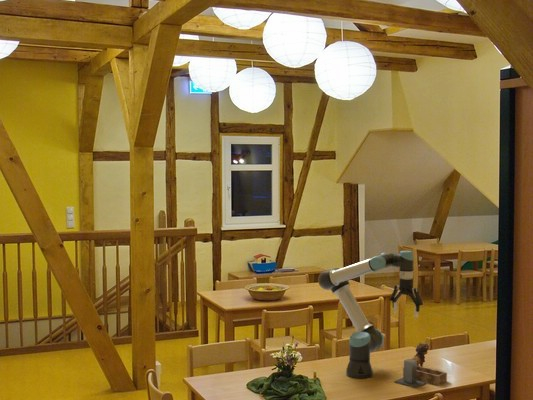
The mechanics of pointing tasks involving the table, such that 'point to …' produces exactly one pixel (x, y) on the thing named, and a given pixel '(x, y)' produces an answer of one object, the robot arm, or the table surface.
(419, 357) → the figurine
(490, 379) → the table surface
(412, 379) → the metal block
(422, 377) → the channel
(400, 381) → the rubber mat
